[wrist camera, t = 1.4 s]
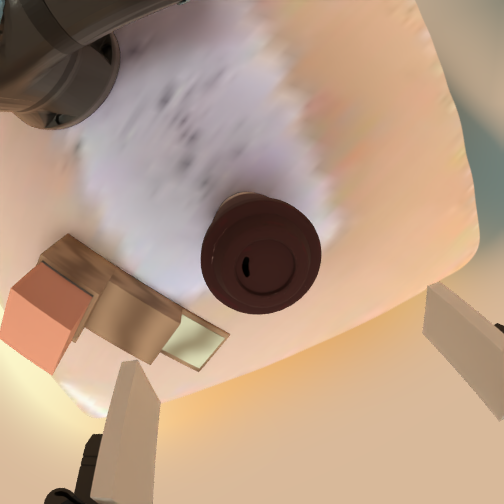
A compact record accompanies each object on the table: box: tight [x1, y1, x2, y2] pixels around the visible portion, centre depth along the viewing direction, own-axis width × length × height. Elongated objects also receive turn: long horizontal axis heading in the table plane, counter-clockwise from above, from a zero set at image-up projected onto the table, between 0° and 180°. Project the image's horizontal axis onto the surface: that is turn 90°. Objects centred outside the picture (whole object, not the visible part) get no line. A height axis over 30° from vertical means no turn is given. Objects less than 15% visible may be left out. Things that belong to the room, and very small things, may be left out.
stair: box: [36, 234, 230, 372], centre depth 37 cm, size 26×8×8 cm, turn 53°
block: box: [0, 261, 93, 375], centre depth 27 cm, size 7×7×7 cm
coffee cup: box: [201, 192, 321, 314], centre depth 31 cm, size 10×10×15 cm
